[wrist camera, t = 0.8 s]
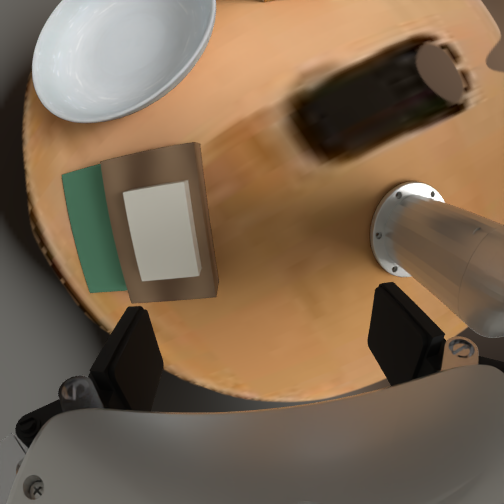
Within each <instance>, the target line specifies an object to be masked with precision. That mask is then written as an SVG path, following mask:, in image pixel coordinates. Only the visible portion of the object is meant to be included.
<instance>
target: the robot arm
mask: <svg viewBox="0 0 504 504" xmlns="http://www.w3.org/2000/svg"><path fill="white" fill-rule="evenodd" d="M396 193H397V195H396ZM376 234H377V235H376ZM370 241H371V248H372V251H373V254H374V256H375V258H376V260H377V262H378V263H379V264H380V265H381V267H383V268H384V269H385V270H386V271H387V272H389V273H390V274H392V275H395V276H398V277H410V276H412V277H413V278H415V279H416V280H417V281H418V282H419V283H421V284H422V285H423V286H424V287H425V288H426V289H428V290H429V291H430V292H431V293H432V294H433V295H434V296H436V297H437V298H438V299H439V300H440V301H441V302H442V303H444V304H445V305H446V306H447V307H448V308H449V309H450V310H451V311H452V312H453V313H455V314H456V315H457V316H458V317H459V318H460V319H461V320H462V321H463V322H465V323H466V324H467V325H468V326H469V327H470V328H471V329H472V330H474V331H475V332H476V333H478V334H480V335H482V336H485V337H492V338H495V337H502V336H504V225H502V224H500V223H497V222H495V221H492V220H490V219H487V218H485V217H482V216H480V215H477V214H475V213H472V212H469V211H467V210H464V209H461V208H458V207H456V206H453V205H450V204H447V203H445V202H444V200H443V198H442V197H441V195H440V194H439V193H438V192H437V191H436V190H435V189H434V188H433V187H431V186H429V185H427V184H424V183H421V182H406V183H402V184H400V185H398V186H396V187H394V188H393V189H392V190H390V191H389V192H388V193H387V194H386V195H385V196H384V197H383V199H382V200H381V202H380V203H379V205H378V207H377V208H376V211H375V213H374V216H373V219H372V223H371V230H370ZM444 335H445V333H444V332H443V331H442V330H441V329H440V328H439V327H438V326H437V325H436V324H435V323H434V322H433V321H432V320H431V319H430V318H429V317H428V316H427V315H426V314H425V313H424V312H423V311H422V310H421V309H420V308H419V307H418V306H417V305H416V304H415V303H414V302H413V301H412V300H411V299H410V298H409V297H408V296H407V295H406V294H405V293H404V292H403V291H402V290H401V289H400V288H399V287H398V286H397V285H396V284H395V283H393V282H388V283H382V284H380V285H379V287H378V288H376V289H375V294H374V302H373V309H372V316H371V322H370V329H369V334H368V346H369V348H370V350H371V352H372V354H373V355H374V357H375V359H376V360H377V362H378V364H379V365H380V367H381V369H382V371H383V372H384V374H385V376H386V377H387V379H388V381H389V383H390V384H391V386H390V387H386V388H383V389H379V390H375V391H371V392H366V393H362V394H358V395H354V396H349V397H344V398H339V399H334V400H329V401H323V402H318V403H311V404H305V405H298V406H291V407H282V408H274V409H264V410H252V411H238V412H216V413H172V412H151V408H152V405H153V401H154V398H155V394H156V391H157V387H158V384H159V380H160V377H161V374H162V370H163V359H162V356H161V353H160V350H159V347H158V344H157V341H156V337H155V334H154V331H153V328H152V324H151V321H150V318H149V314H148V311H147V310H144V309H143V307H141V306H135V307H128V308H127V309H126V311H125V312H124V314H123V315H122V317H121V319H120V320H119V322H118V323H117V325H116V327H115V328H114V330H113V332H112V333H111V335H110V337H109V338H108V340H107V342H106V343H105V345H104V347H103V348H102V350H101V352H100V353H99V355H98V357H97V358H96V360H95V362H94V364H93V365H92V367H91V369H90V374H89V376H88V377H86V376H81V375H79V376H73V377H71V378H69V379H67V380H65V381H64V382H63V383H62V384H61V386H60V387H59V391H58V396H59V400H57V401H54V402H52V403H50V404H48V405H46V406H44V407H42V408H39V409H37V410H35V411H33V412H30V413H28V414H26V415H24V416H23V417H22V418H21V419H20V420H19V421H18V423H17V425H16V428H15V429H16V434H15V435H13V434H12V433H10V434H9V435H8V436H7V437H5V438H4V439H3V440H2V441H0V504H504V362H501V361H497V360H493V359H489V358H485V357H481V356H478V348H477V346H476V345H475V344H474V343H473V342H472V341H471V340H469V339H467V338H464V337H452V338H450V339H448V340H447V341H446V340H445V339H444Z"/></svg>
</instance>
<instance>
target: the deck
mask: <svg viewBox="0 0 504 504" xmlns="http://www.w3.org/2000/svg"><path fill="white" fill-rule="evenodd" d="M100 163H101V171H102V177H103V184H104V190H105V196H106V202H107V207H108V212H109V217H110V222H111V227H112V232H113V236H114V241H115V245H116V249H117V253H118V257H119V261H120V265H121V269H122V272H123V276H124V280H125V283H126V287H127V290H128V293H129V297H130V300H131V303H147V302H162V301H175V300H188V299H200V298H212V297H216V296H217V290H218V283H219V279H218V272H217V266H216V260H215V253H214V247H213V240H212V233H211V226H210V219H209V212H208V204H207V197H206V189H205V181H204V173H203V165H202V157H201V148H200V144H199V143H195V142H192V143H186V144H180V145H174V146H168V147H163V148H158V149H153V150H148V151H143V152H139V153H134V154H130V155H125V156H121V157H117V158H113V159H109V160H105V161H101V162H100ZM184 180H188V183H189V191H190V198H191V205H192V212H193V218H194V225H195V231H196V237H197V243H198V249H199V255H200V261H201V267H202V269H201V272H200V275H199V276H195V277H185V278H174V279H163V280H152V281H142V280H141V276H140V272H139V268H138V264H137V260H136V256H135V251H134V247H133V242H132V238H131V233H130V228H129V223H128V218H127V213H126V208H125V202H124V196H123V192H126V191H128V190H131V189H137V188H142V187H147V186H153V185H159V184H165V183H171V182H177V181H184Z"/></svg>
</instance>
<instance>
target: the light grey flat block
mask: <svg viewBox="0 0 504 504" xmlns="http://www.w3.org/2000/svg"><path fill="white" fill-rule="evenodd" d="M123 196H124V202H125V208H126V213H127V218H128V223H129V228H130V233H131V238H132V242H133V247H134V251H135V256H136V260H137V264H138V268H139V272H140V276H141V280H142V281H152V280H163V279H174V278H185V277H195V276H199V275H200V272H201V269H202V267H201V261H200V255H199V249H198V243H197V237H196V231H195V225H194V218H193V212H192V205H191V198H190V191H189V183H188V180H184V181H177V182H171V183H165V184H159V185H153V186H147V187H142V188H137V189H131V190H128V191H126V192H123Z"/></svg>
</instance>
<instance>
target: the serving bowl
mask: <svg viewBox="0 0 504 504" xmlns="http://www.w3.org/2000/svg"><path fill="white" fill-rule="evenodd" d="M215 16H216V0H62V1H61V2H60V4H59V5H58V6H57V7H56V8H55V10H54V11H53V13H52V14H51V16H50V17H49V18H48V20H47V22H46V24H45V25H44V27H43V29H42V31H41V33H40V36H39V38H38V41H37V44H36V47H35V51H34V55H33V62H32V78H33V84H34V88H35V91H36V93H37V96H38V97H39V99H40V101H41V102H42V104H43V105H44V106H45V107H46V108H47V109H48V110H49V111H50V112H51V113H53V114H54V115H56V116H57V117H59V118H61V119H64V120H67V121H71V122H76V123H97V122H104V121H110V120H114V119H118V118H121V117H124V116H127V115H130V114H133V113H135V112H137V111H139V110H142V109H144V108H146V107H147V106H149V105H151V104H152V103H154V102H156V101H157V100H159V99H160V98H162V97H163V96H165V95H166V94H167V93H168V92H170V91H171V90H172V89H173V88H174V87H176V86H177V85H178V84H179V83H180V82H181V81H182V80H183V79H184V78H185V77H186V76H187V74H188V73H189V72H190V71H191V70H192V68H193V67H194V66H195V64H196V63H197V62H198V60H199V59H200V57H201V55H202V54H203V52H204V50H205V48H206V46H207V44H208V42H209V39H210V37H211V34H212V31H213V27H214V22H215Z"/></svg>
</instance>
